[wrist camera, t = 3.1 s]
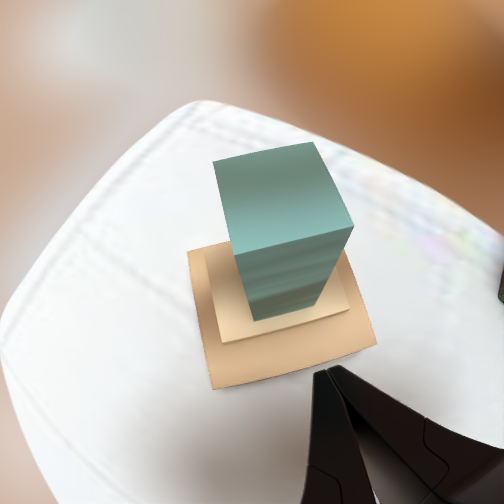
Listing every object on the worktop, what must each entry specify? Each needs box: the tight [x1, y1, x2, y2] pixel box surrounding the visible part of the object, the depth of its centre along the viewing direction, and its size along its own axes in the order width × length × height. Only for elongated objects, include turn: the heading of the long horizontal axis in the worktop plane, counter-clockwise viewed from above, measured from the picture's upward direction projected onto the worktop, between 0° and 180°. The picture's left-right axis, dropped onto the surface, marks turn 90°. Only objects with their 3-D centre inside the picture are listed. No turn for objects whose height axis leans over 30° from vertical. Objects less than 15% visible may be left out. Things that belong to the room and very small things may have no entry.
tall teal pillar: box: [203, 142, 354, 344], centre depth 13 cm, size 6×8×10 cm
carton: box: [187, 241, 377, 390], centre depth 19 cm, size 9×10×4 cm
